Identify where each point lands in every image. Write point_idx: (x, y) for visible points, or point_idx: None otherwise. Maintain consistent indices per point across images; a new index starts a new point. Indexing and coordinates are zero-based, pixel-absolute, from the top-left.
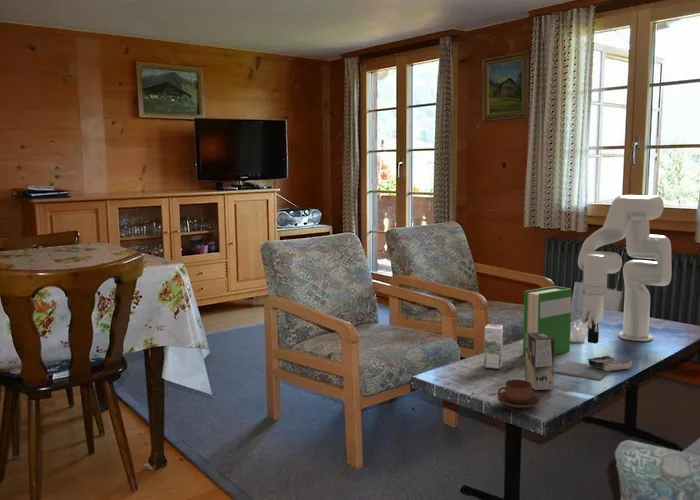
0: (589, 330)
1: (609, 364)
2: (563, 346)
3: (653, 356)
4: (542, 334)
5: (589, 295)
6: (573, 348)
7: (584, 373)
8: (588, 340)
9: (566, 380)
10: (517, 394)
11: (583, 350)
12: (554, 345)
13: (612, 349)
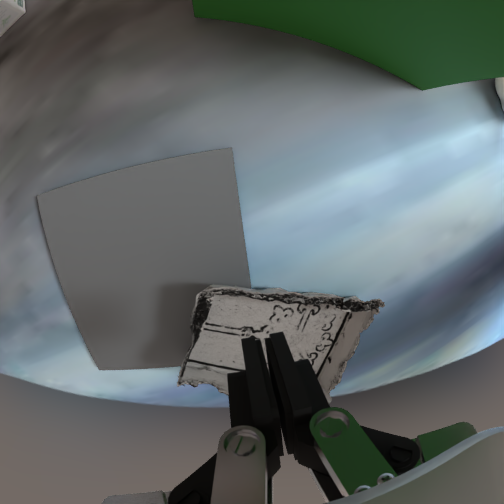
0: (216, 454)
1: (322, 319)
2: (403, 62)
3: (468, 338)
4: None
5: None
6: (457, 98)
7: (102, 309)
8: (243, 352)
9: (16, 281)
10: None
11: (458, 139)
12: None
13: (497, 224)
